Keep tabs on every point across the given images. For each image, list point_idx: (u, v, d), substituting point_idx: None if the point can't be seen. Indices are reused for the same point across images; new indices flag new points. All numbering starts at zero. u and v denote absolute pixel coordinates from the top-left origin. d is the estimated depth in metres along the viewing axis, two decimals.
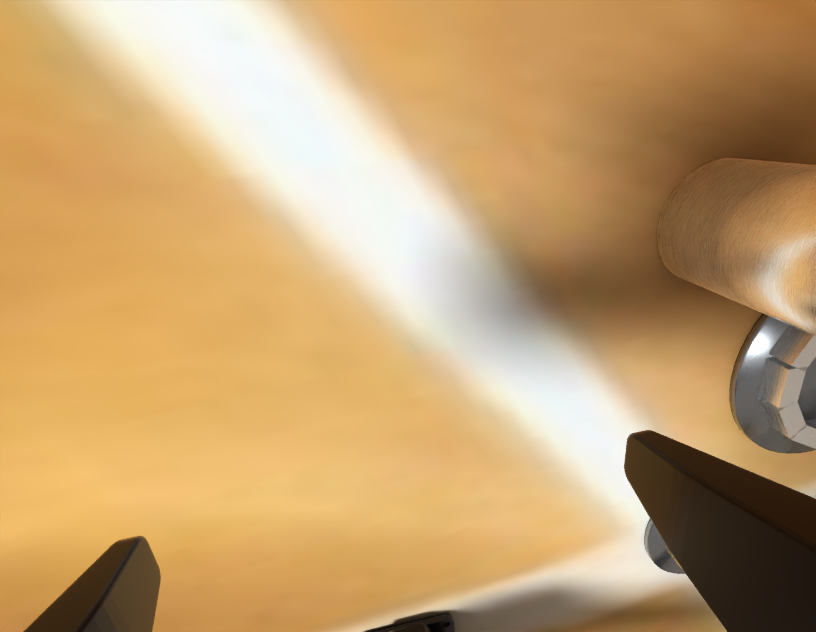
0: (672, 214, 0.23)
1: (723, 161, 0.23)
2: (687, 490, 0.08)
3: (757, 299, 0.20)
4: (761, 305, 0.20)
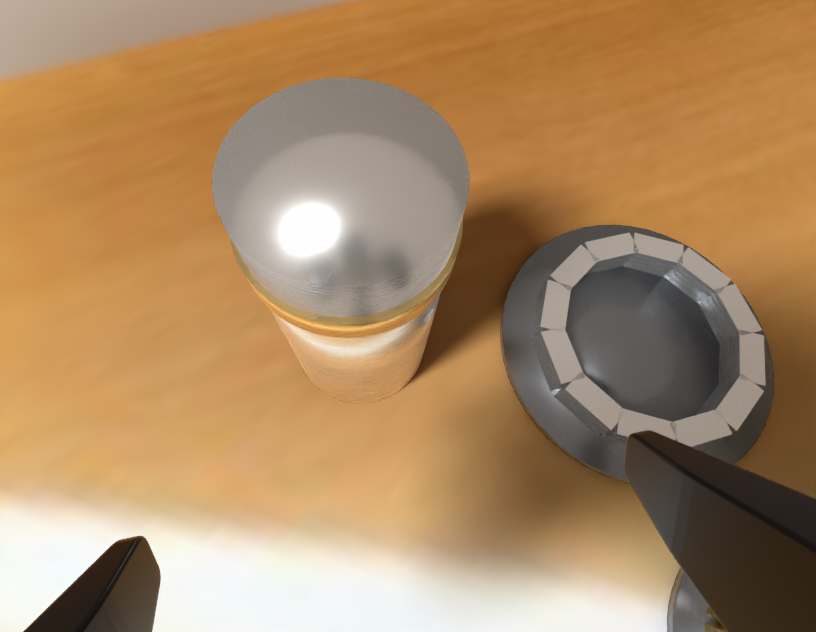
0: None
1: None
2: (687, 490, 0.08)
3: (334, 368, 0.17)
4: (342, 369, 0.17)
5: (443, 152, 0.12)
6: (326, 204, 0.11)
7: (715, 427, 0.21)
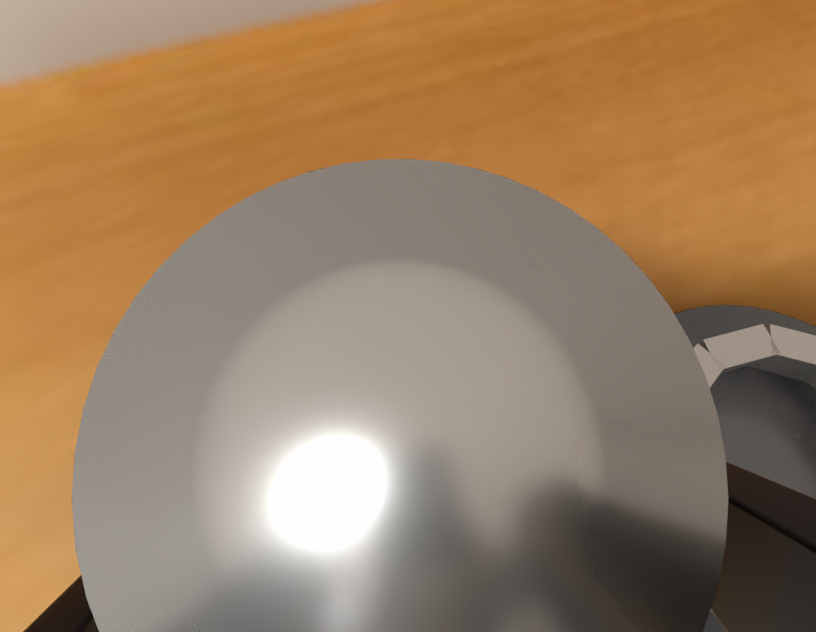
0: None
1: None
2: None
3: None
4: None
5: (644, 349, 0.05)
6: (372, 518, 0.04)
7: None
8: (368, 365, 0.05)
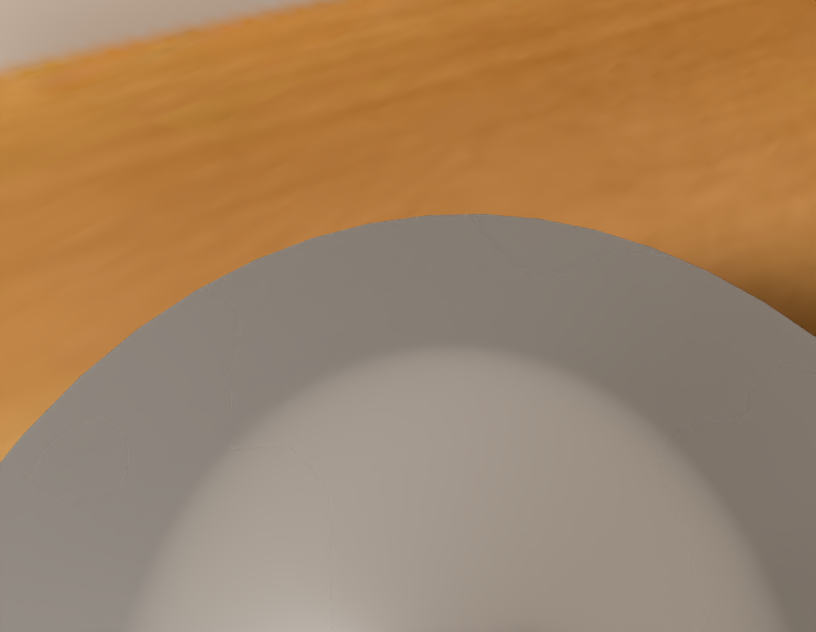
0: None
1: None
2: None
3: None
4: None
5: None
6: None
7: None
8: None
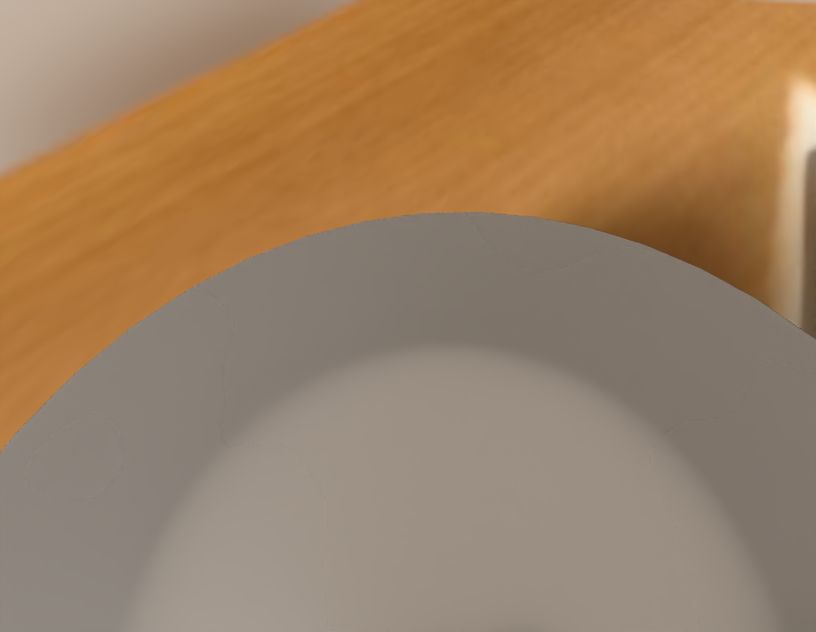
0: None
1: None
2: None
3: None
4: None
5: None
6: None
7: None
8: None
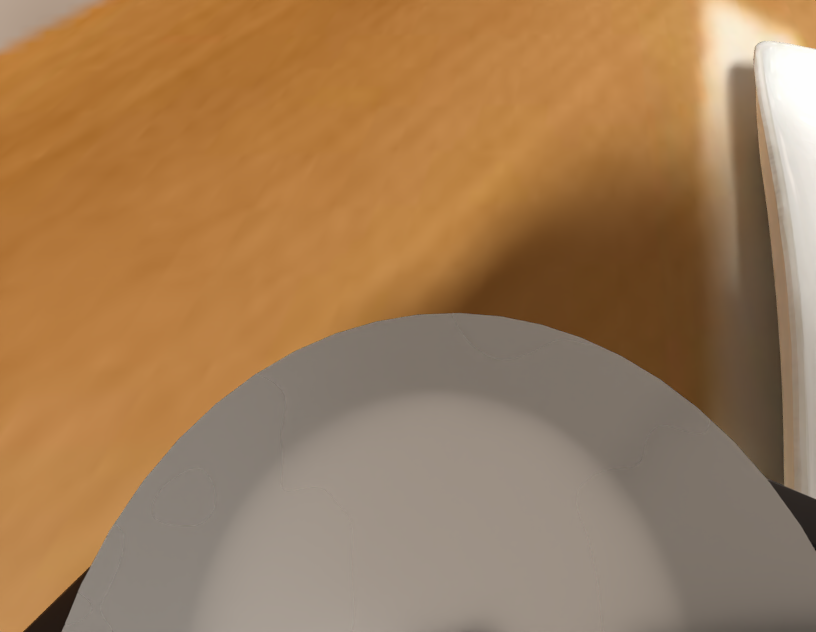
0: None
1: None
2: None
3: None
4: None
5: (775, 595, 0.04)
6: None
7: None
8: None
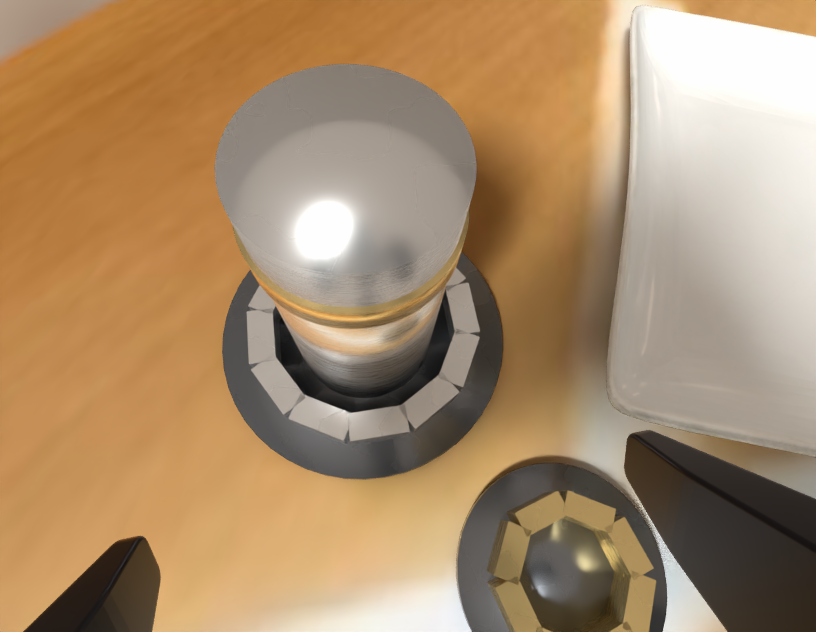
0: None
1: None
2: (687, 490, 0.08)
3: (339, 361, 0.17)
4: (347, 362, 0.17)
5: (449, 139, 0.12)
6: (330, 190, 0.11)
7: (442, 392, 0.21)
8: (330, 142, 0.12)
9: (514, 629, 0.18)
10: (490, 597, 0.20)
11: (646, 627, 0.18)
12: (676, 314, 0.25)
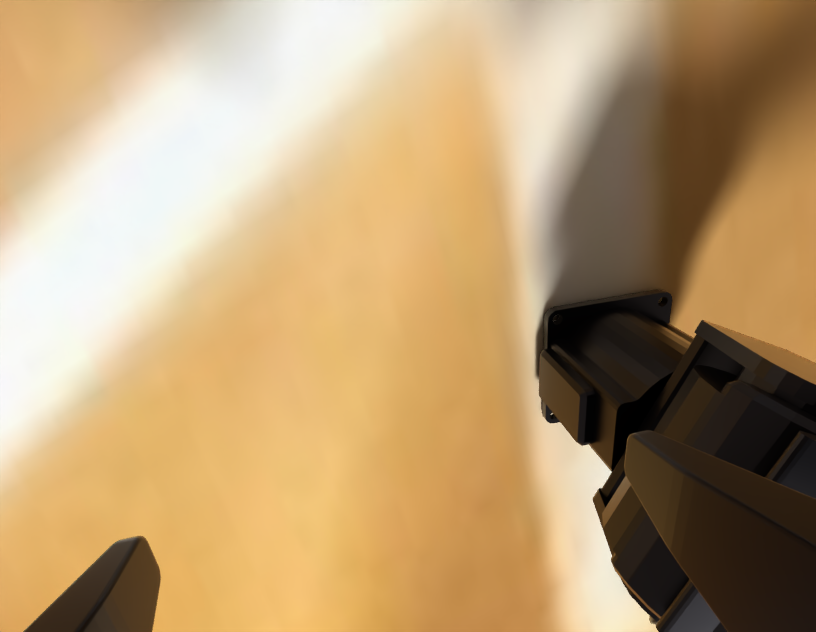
0: None
1: None
2: (687, 490, 0.08)
3: None
4: None
5: None
6: None
7: None
8: None
9: None
10: None
11: None
12: None
